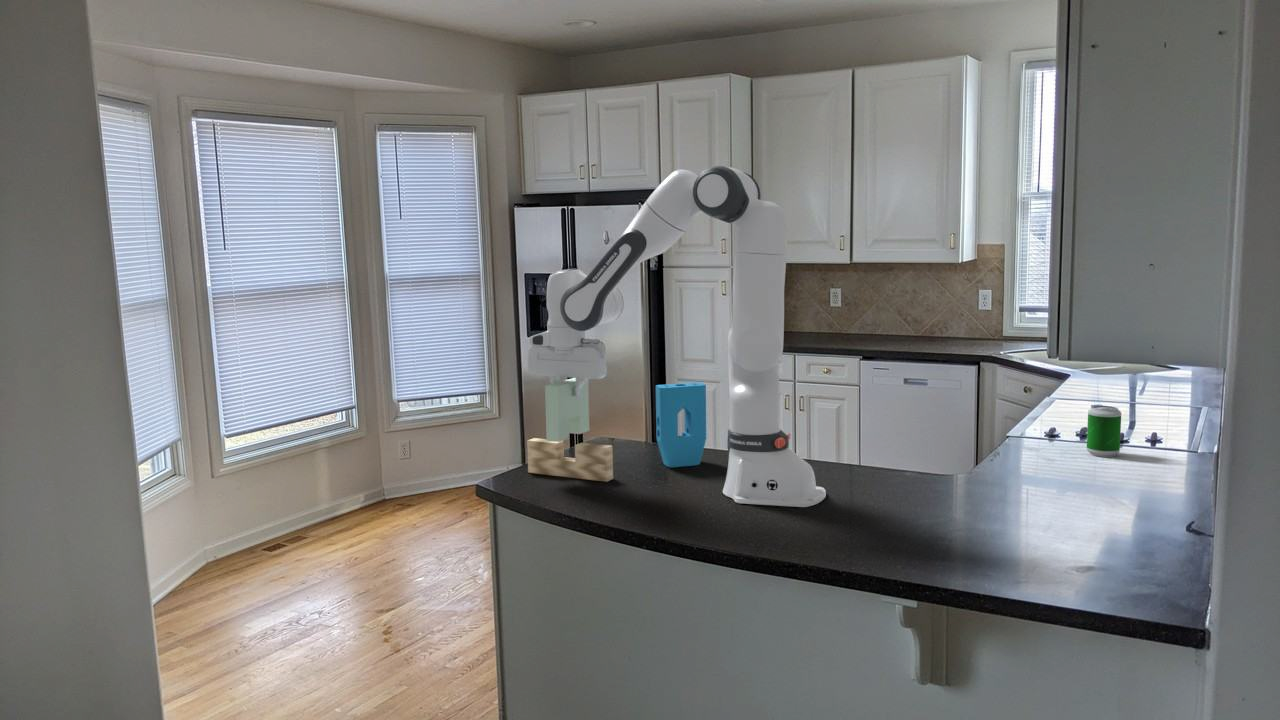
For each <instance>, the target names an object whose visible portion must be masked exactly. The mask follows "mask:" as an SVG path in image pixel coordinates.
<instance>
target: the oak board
mask: <svg viewBox="0 0 1280 720" xmlns="http://www.w3.org/2000/svg"><path fill="white" fill-rule="evenodd" d="M526 441H527V442H526V444H527V445H526V446H527V448H526V449H527V472H528V473H530V474H538V475H545V476H546V475H547V476H555V477H563V478H572V479H581V480H589V481H599V482H605V483H606V482H607V483H608V482H609V481H611V480H614V461H613V458H614V455H613V445H610V444H599V443H597V444H596V443H590V442H589V443H588V442H580V443H577V444H575V445H574V457H565V452H564V451H565V450H564V449H565V448H564V447H565V444H564V440H563V441H561V442H555V441H547V440H546V438H539V437H538V438H537V437H533V438H531V439H527V440H526Z"/></svg>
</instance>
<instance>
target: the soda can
mask: <svg viewBox="0 0 1280 720" xmlns="http://www.w3.org/2000/svg"><path fill="white" fill-rule="evenodd" d="M1121 427H1122V411H1121V410H1119V408H1118V407H1117V406H1110V405H1092V406H1091V408H1089V409H1088V411H1087V432H1086V451H1087V452H1088V453H1089V455H1091V456H1094V457H1097V458H1098V457H1100V458H1114V457H1116V456H1117V454H1119V453H1120V451H1121V448H1120V447H1121V433H1122V431H1121Z"/></svg>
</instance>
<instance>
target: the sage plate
mask: <svg viewBox="0 0 1280 720" xmlns="http://www.w3.org/2000/svg"><path fill="white" fill-rule="evenodd" d="M577 384H578V382H576V378H571V377H570V378H569V379H565V380H562V381H558V382H557V383H553V384H551V383H550V384H547V385H544V395H545V398H544V399H545V400H544V401H545V430H546V433H545V434H546V438H545V439H546V440H547V441H555V442H561V441H563V442H564V441H566V440H568V439H570V434H575V435H576V434H577V435H581V434H584V433H587V432H589V431H590V403H589V402H590V401H589V399H590V396H589V395H590V393H589V391H590V390H589V389H590V388H589V379H586V378H585V383H584V385H583V387H582V388H581V396H579V397H575V396H572V389H575V388H576V386H577Z"/></svg>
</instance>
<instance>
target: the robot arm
mask: <svg viewBox="0 0 1280 720" xmlns="http://www.w3.org/2000/svg"><path fill="white" fill-rule="evenodd" d="M761 196H762V195H761V190H760V186H759V184H758V182H757V181H756V179H755V178H754V177H753V176H752V175H750V174H748V173H747V172H744V171H742V170H740V169H738V168H734V167H730V166H725V165H724V166H723V165H716V166H711V167H708V168H706V169H704V170H702V172H701V173H699V175H697V174H696V173H695V172H692V171H690V170H688V169H681V168H680V169H676V170H674V171H672V172H671V173H670V174H668V176H667V177H666V178H664V180H663V181H662V182H661V183H660V184H659V185H658V186H657V187H656V188H655V189H654V190H653V192H652V193H651V194H650V195H649V196H648V198H647V199H646V200H645V201H644V203H643V204H642V206H641V207H640V209H639V210H638V211H637V212H636V214H635V216H634V217H633V219H632V220H631V222H630V223H629V224H628V226H627V227H626V228H625V230H624V231H623V232H622V234H621V235H620V236H619V238H618V239H617V240H616V241H615V243H614V244H613V245H611V247H610V249H608V251H607V252H606V253H605V254H604V255H603V257H602V258H601V259H600V261H599V262H598V263H597V264H596V265H595V266H594V268H593V269H592V270H591V271H590V273H589V274H588V275H587V274H585V273H584V272H583V271H582V270H581V269H579V268H569V269H568V268H567V269H561V270H557V271H554V272H553V273H551V274H550V275H549V277H548V279H547V284H546V310H547V313H548V319H547V322H546V323H547V324H546V327H547V330H545V331H543V332H540V333H537V334H534V335H532V336H529V338H528V340H529V341H528V343H529V345H530V347H529V348H528V352H527V371H528V373H529V374H530V375H531V376H544V377H549V382H550V384H553V383H557V382H559V380H560V378H570V379H571V378H576V382H578V384H577V386H576V388H575V389H572V396H575V397H579V396H581V388H582V387H583V385H584V383H585V378H586V379H588V380H589V379H590V380H600V379H603V378H605V377H606V376H607V374H608V365H607V358H606V345H605V344H604V342H603V341H601V340H600V339H598V338H595V339H594V338H593V339H592V338H586V332H585V331H588V330H591V329H593V328H596V327H599V326H604V325H606V324H610V323H612V322H614V321H616V320H617V319H618V318H619V317H620V316H621V314H622V313H623V310H624V298H623V294H622V292H621V291H620V289H618V288H617V286H618V285H619V284H620V283H621V282H622V281H623V279H624V278H625V277H626V276H627V274H629V272H630V271H631V270H632V269H633V268H635V267H636V266H637V265H639V264H641V263H642V262H644V261H647V260H649V259H651V258H653V257H656V256H659V255H662V254H664V253H666V252H668V250H669V249H670V248H672V246H674V245H675V244H676V243H677V242H678V241H679V240H680V239H681V237H682V236H683V235H684V234H685V232H686V231H687V230H688V228H689V227H690V226H691V224H692V223H693V222H694V221H695V219H696V218H697V217H699V216H700V215H701V214H703V213H704V214H705V215H707V216H709V217H711V218H714V219H715V220H716V219H717V220H719V221H722V222H724V223H728V224H732V226H733V228H734V231H735V248H734V249H735V250H734V260H733V261H734V266H733V278H732V279H733V280H732V304H731V305H732V308H731V309H732V310H731V311H732V312H731V314H732V315H731V327H730V328H729V331H728V334H727V355H728V386H729V387H728V388H729V389H728V390H729V391H728V392H729V428H728V430H727V439H726V441H727V443H726V445H727V446H726V447H727V455H728V465H727V470H726V476H725V481H724V486H723V489H722V493H723V495H724V496H725V497H728V498H731V499H732V500H733V501H734V502H735V503H737V504H746V505H747V504H748V505H761V506H777V507H778V506H779V507H794V508H795V507H797V508H809V507H811V506H815V505H818V504H819V503H821V502H822V501H823V500H824V499H826V497H827V491H826V489H825V488H824V487H822V486H819V485H818V486H817V483H816V476H815V472H814V471H815V470H814V469H813V467H812V465H811V464H809V462H807V461H806V460H804V459H803V458H802V457H800V456H799V455H798V454H797V453H795V451H793V450H792V449H791V448H790V447H789V445H790V439H791V433H788V434H786V433H785V432H784V431H783V430H782V429H781V390H780V376H779V361H780V360H781V357H782V355H783V351H784V338H785V337H784V336H785V335H784V334H785V333H784V332H785V281H786V269H787V268H786V267H787V258H788V257H787V256H788V255H787V254H788V228H787V227H788V226H787V221H786V214H785V211H784V209H783V207H781V206H780V205H778V204H777V203H775V202H773V201H770V200H761V198H762V197H761Z"/></svg>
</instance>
